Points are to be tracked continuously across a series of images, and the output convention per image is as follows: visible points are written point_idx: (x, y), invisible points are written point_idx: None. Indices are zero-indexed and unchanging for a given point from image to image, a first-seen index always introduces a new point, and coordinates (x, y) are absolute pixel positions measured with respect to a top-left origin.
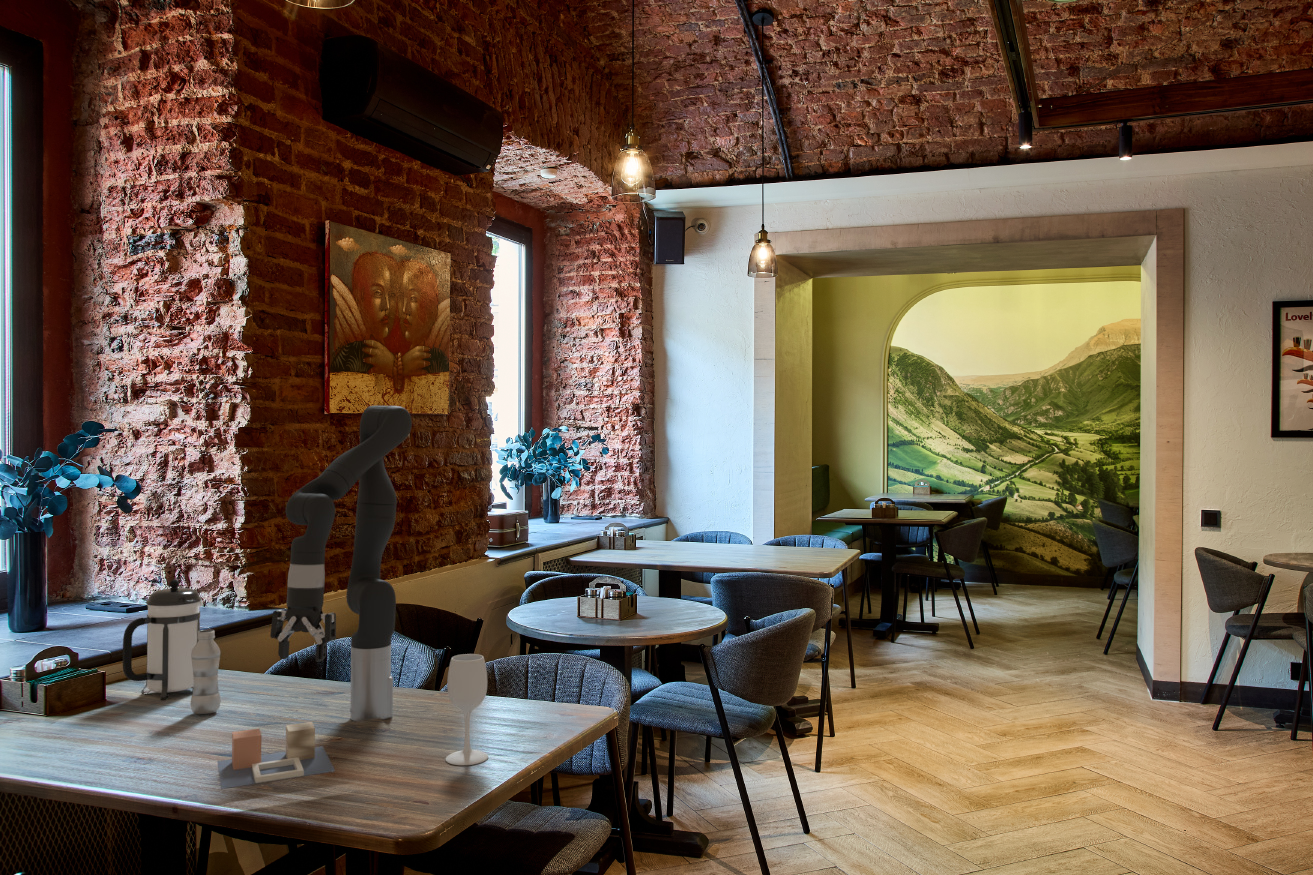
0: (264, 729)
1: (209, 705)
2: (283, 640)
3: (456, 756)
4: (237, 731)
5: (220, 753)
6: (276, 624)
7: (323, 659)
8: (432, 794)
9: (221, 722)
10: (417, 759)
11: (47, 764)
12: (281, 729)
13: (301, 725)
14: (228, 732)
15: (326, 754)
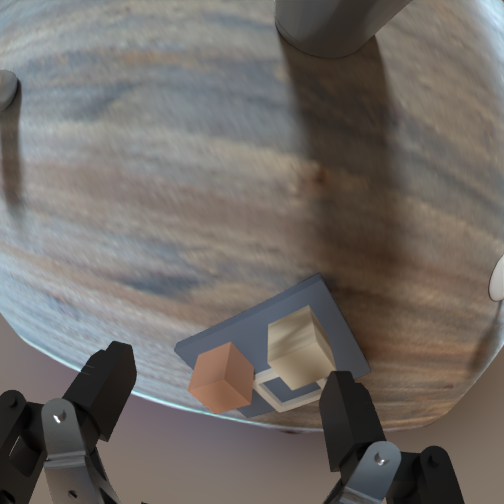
0: (119, 134)
1: (4, 100)
2: (94, 440)
3: (500, 290)
4: (194, 388)
5: (131, 280)
6: (30, 494)
7: (349, 373)
8: (459, 372)
9: (40, 120)
10: (463, 285)
11: (13, 312)
12: (152, 125)
13: (302, 362)
14: (72, 168)
15: (343, 319)
